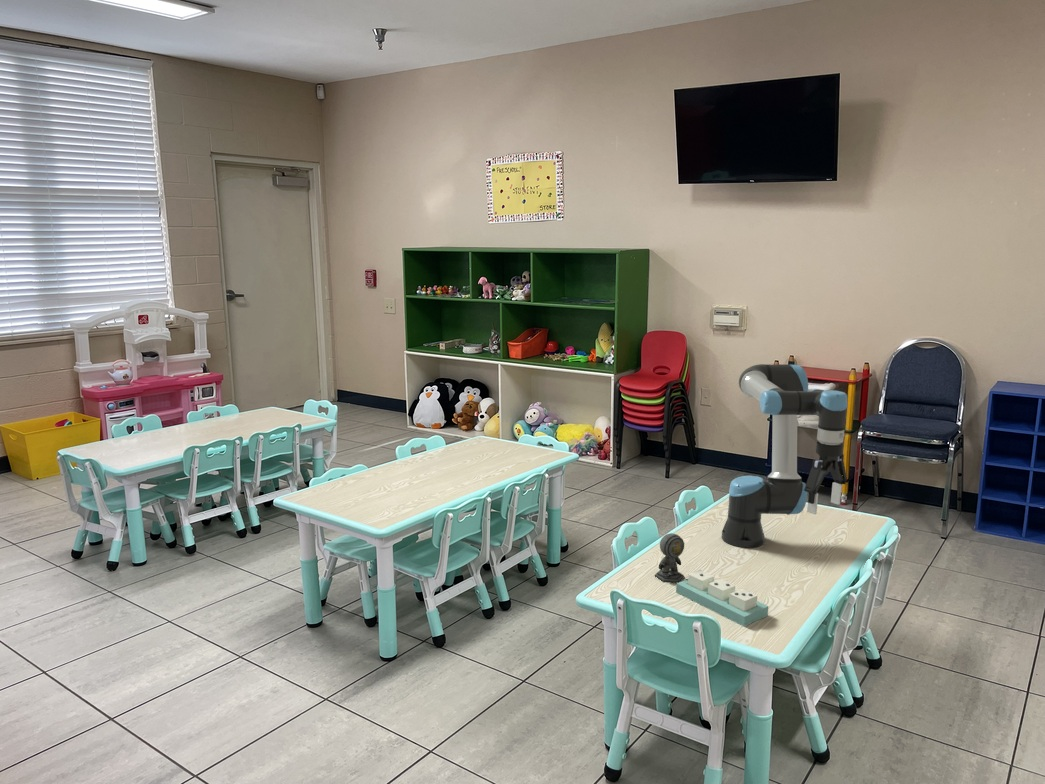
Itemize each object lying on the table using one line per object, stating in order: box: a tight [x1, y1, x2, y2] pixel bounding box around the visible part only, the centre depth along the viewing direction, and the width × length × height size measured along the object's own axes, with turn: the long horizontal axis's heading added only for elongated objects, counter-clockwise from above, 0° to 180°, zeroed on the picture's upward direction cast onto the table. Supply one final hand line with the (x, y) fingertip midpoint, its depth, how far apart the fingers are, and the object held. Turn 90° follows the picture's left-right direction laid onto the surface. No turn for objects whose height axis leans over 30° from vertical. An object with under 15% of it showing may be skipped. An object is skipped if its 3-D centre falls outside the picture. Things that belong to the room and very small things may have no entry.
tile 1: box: [687, 569, 715, 591], centre depth 241 cm, size 6×6×4 cm
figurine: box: [654, 532, 685, 584], centre depth 252 cm, size 9×10×15 cm
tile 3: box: [729, 588, 758, 612], centre depth 229 cm, size 6×6×4 cm
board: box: [675, 578, 769, 627], centre depth 236 cm, size 26×11×3 cm, turn 36°
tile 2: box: [708, 578, 736, 601], centre depth 235 cm, size 6×6×4 cm
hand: (823, 508), depth 240 cm, fingers open, 13 cm apart
